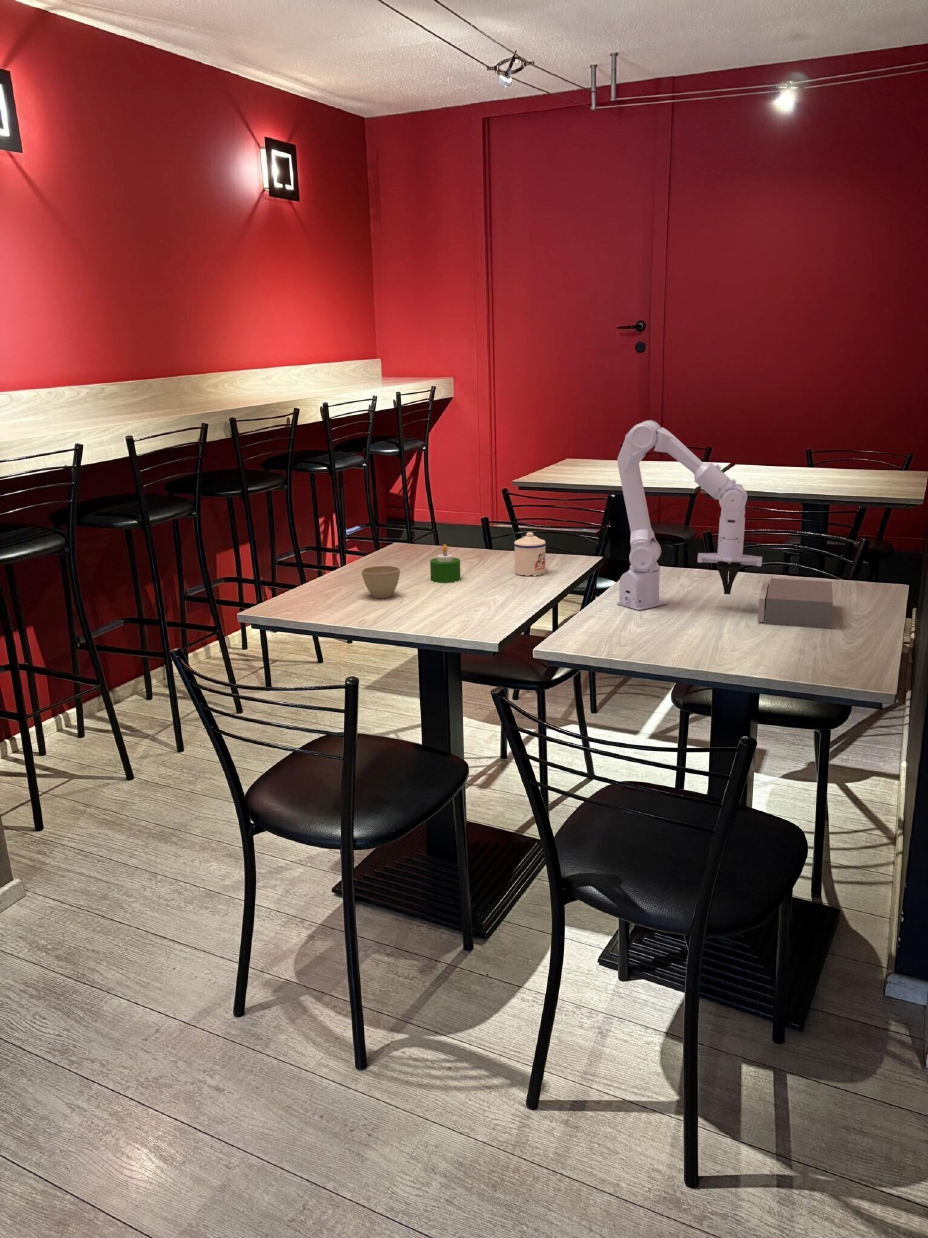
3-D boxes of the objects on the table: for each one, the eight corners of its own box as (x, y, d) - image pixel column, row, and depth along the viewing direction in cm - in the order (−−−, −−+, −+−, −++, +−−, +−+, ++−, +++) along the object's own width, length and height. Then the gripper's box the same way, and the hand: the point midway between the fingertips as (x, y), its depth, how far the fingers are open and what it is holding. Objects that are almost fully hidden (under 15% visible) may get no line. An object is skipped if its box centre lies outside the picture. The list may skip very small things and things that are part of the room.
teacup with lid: (540, 577, 260) (540, 536, 257) (509, 575, 264) (509, 534, 260) (552, 568, 271) (552, 528, 268) (522, 566, 274) (522, 527, 271)
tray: (814, 604, 227) (816, 581, 225) (814, 626, 209) (816, 602, 208) (762, 600, 231) (764, 578, 229) (757, 622, 213) (759, 598, 212)
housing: (829, 605, 226) (832, 581, 224) (830, 628, 208) (832, 602, 206) (769, 601, 231) (770, 578, 229) (764, 623, 213) (766, 598, 211)
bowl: (404, 591, 249) (402, 565, 247) (397, 601, 240) (396, 573, 238) (367, 591, 250) (365, 565, 248) (359, 600, 241) (357, 573, 239)
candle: (426, 582, 258) (425, 546, 256) (436, 575, 266) (435, 540, 263) (455, 583, 256) (454, 547, 253) (464, 577, 264) (463, 541, 261)
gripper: (697, 538, 219) (694, 595, 222) (762, 542, 214) (758, 599, 218) (700, 533, 225) (697, 588, 229) (764, 536, 220) (759, 592, 224)
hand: (727, 593), depth 224 cm, fingers closed
